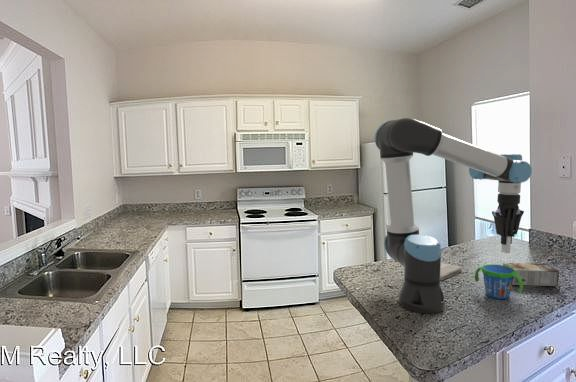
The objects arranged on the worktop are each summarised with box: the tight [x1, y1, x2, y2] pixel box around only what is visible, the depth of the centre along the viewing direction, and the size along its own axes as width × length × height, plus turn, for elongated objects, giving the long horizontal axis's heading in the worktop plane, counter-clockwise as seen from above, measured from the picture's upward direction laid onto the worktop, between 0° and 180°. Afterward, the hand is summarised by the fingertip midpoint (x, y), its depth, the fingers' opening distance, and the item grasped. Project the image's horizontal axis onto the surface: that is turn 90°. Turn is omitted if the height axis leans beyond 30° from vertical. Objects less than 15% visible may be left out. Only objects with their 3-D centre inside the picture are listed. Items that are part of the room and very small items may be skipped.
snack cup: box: [474, 264, 524, 300], centre depth 129 cm, size 16×10×10 cm
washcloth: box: [440, 261, 463, 282], centre depth 155 cm, size 12×18×3 cm, turn 128°
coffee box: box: [502, 262, 560, 287], centre depth 140 cm, size 9×6×16 cm
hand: (505, 252), depth 142 cm, fingers closed
